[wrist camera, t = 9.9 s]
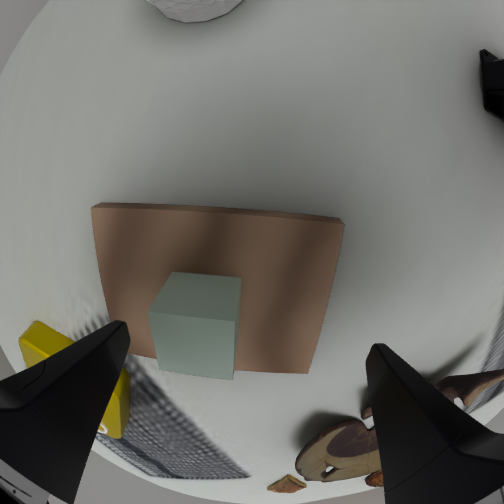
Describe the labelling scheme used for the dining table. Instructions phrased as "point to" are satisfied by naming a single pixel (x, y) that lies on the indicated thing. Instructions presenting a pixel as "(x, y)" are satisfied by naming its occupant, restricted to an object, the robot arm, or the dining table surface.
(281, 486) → the shard
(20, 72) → the dining table surface
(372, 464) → the oil lamp
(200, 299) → the sage cube
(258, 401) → the dining table surface
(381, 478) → the bread roll
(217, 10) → the white cup
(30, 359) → the element tile
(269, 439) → the dining table surface
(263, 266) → the walnut board
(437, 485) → the robot arm
